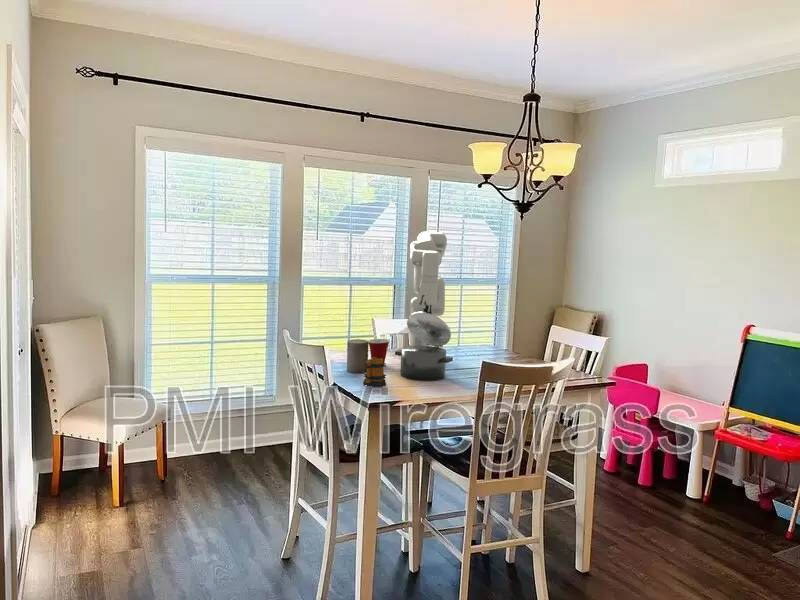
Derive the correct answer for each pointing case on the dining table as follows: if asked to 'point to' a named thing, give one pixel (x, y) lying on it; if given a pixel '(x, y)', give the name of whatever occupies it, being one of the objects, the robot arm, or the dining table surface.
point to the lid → (429, 329)
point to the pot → (423, 362)
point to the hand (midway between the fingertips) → (427, 320)
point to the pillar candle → (357, 355)
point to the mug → (375, 373)
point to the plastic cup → (378, 348)
